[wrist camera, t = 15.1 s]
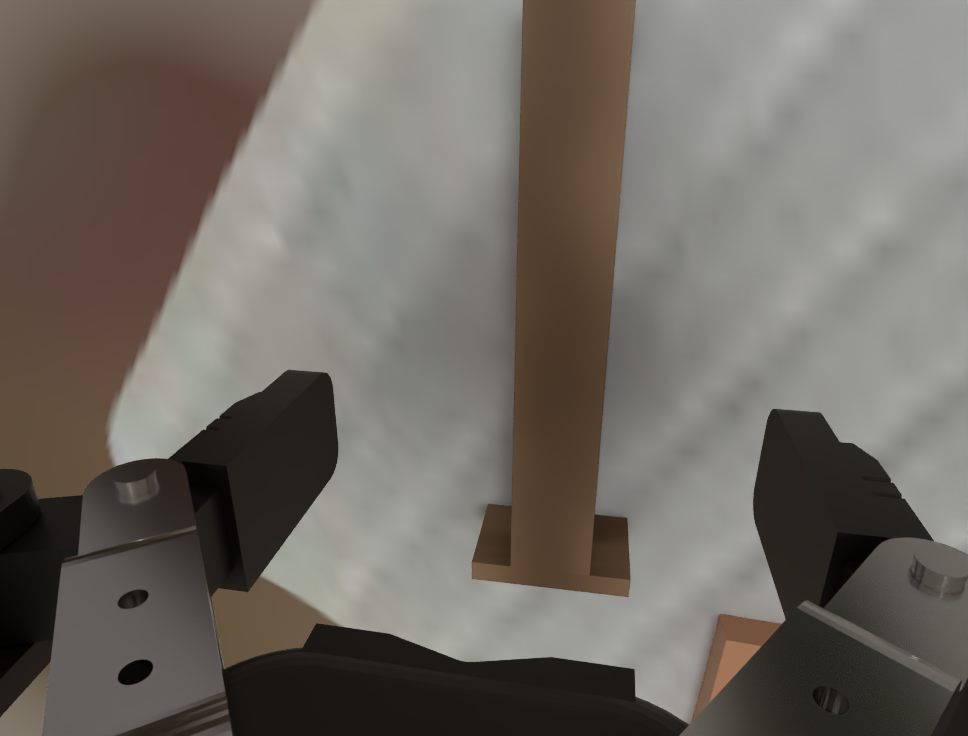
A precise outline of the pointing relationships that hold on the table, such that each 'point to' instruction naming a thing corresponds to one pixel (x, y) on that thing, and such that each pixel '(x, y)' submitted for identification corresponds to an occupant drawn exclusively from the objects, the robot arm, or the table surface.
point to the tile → (731, 653)
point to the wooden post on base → (564, 300)
